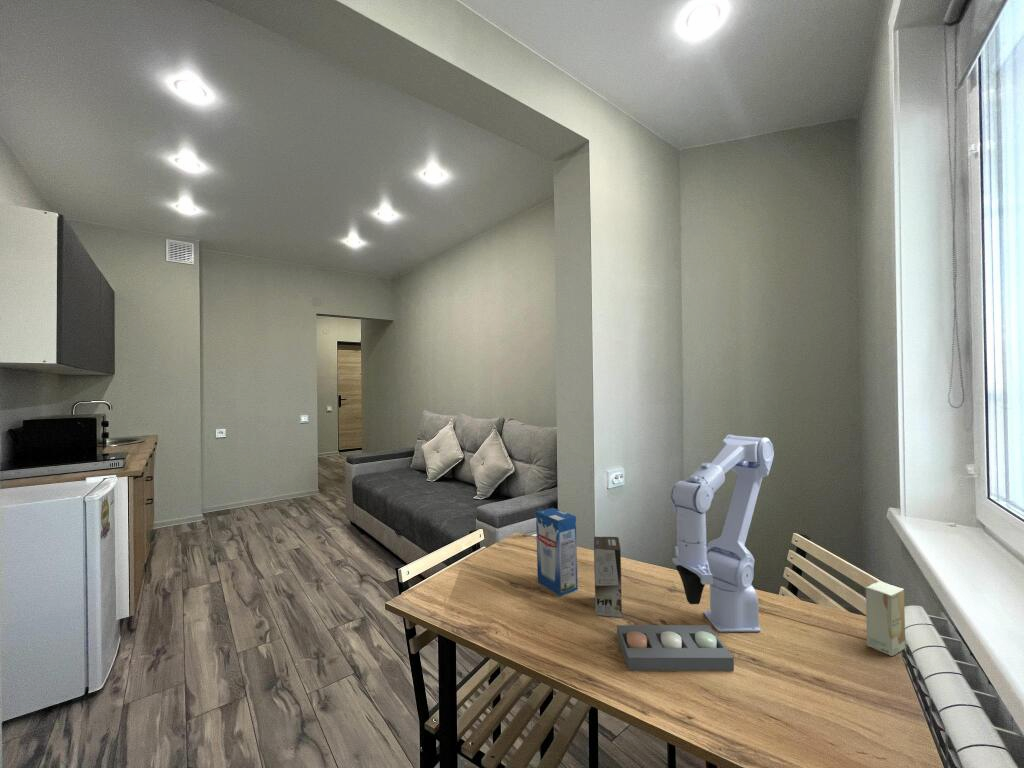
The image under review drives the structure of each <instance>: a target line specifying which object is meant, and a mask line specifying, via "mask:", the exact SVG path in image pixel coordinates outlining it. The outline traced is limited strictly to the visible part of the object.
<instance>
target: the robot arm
mask: <svg viewBox="0 0 1024 768" xmlns="http://www.w3.org/2000/svg"><path fill="white" fill-rule="evenodd" d="M774 455H775V452H774V445H773V443H772V441H771V439H770V438H768V437H756V436H755V437H754V436H742V435H734V434H728V435H726V436H725V437H724V438H723V439H722V441H721V450H720V451H719V453H718V454H717V455H716V456H715V457H714V458H713V460H712V461H711V462H702V463H701V464H700V466H699V467H698V468H696V470H695V471H694V472H693V473H692V474H690V476H689V477H688V478H686V480H679V481H678V482H676V483H674V484H673V485H672V487H671V491H670V494H669V499H670V500H669V501H670V502H671V504H672V507H673V513H674V515H675V516H676V534H677V535H676V537H677V538H676V539H677V542H676V543H677V546H674V550H675V551H674V555H675V556H676V557H672V559H671V561H672V563H673V564H675V565H676V566H675V569H676V570H677V572H678V574H679V576H680V579H681V582H682V585H683V590H684V593H685V599H686V601H687V602H688V604H689V605H700V603H701V599H702V596H703V595H702V594H703V591H704V588H705V585H709V610H703V615H705V617H706V618H707V620H708V621H709V622H710V623H711V625H712V626H713V627H714V628H715V630H716V631H718V632H719V633H721V632H723V633H724V632H725V633H726V632H730V633H731V632H733V633H735V632H745V633H746V632H747V633H749V632H759V633H760V632H761V629H762V628H760V622H759V621H760V619H759V599H758V594H757V592H756V589H755V588H754V586H753V585H752V582H753V580H754V574H755V573H754V567H755V558H754V556H753V554H752V553H751V551H750V550H748V549H747V547H746V546H745V545H746V542H747V537H748V533H749V530H750V527H751V523H752V518H753V516H754V511H755V507H756V503H757V499H758V495H759V492H760V489H761V485H762V481H763V478H765V477H768V476H769V474H770V471H771V467H772V464H773V460H774V458H775V456H774ZM730 470H731V471H732V472H734V473H735V474H736V475H737V480H736V483H735V486H734V490H733V494H732V497H731V500H730V504H729V508H728V511H727V514H726V518H725V521H724V524H723V529H722V532H721V534H720V537H718V538H715V539H712V540H710V541H708V543H707V523H706V522H707V521H706V520H707V519H706V518H707V517H706V512H707V511H708V510H709V509H710V507H711V504H712V500H713V499H714V494H715V493H716V491H718V490H719V489H720V487H721V486H723V484H724V483H725V481H726V476H725V474H727V473H728V472H729V471H730Z"/></svg>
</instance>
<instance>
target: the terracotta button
mask: <svg viewBox="0 0 1024 768" xmlns="http://www.w3.org/2000/svg"><path fill="white" fill-rule="evenodd" d="M627 648H647V637H646V635H644V634H643V633H641V632H637V631H632V632H629V633H628V634H627Z"/></svg>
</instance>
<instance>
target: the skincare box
mask: <svg viewBox="0 0 1024 768" xmlns="http://www.w3.org/2000/svg"><path fill="white" fill-rule="evenodd" d="M865 608H866V609H865V610H866V612H865V613H866V615H865V616H866V646H867V647H870V648H873V649H875V650H877V651H879V652H881V653H884V654H886V655H889V656H890V657H893V656H895V655H897V654H899V653H900V652H902V651H904V649H906V623H905V622H906V621H905V620H906V618H905V614H906V613H905V589H904V588H902V587H898V586H896V585H892V584H889V583H887V582H883V581H879V580H878V581H876V582H874V583H872V584H870V585H868V586H865ZM898 652H899V653H898Z"/></svg>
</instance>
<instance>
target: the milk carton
mask: <svg viewBox="0 0 1024 768" xmlns="http://www.w3.org/2000/svg"><path fill="white" fill-rule="evenodd" d="M535 519H536V520H535V523H536V528H535V529H536V531H535V532H536V563H537V569H536V570H537V571H536V572H537V584H539V583H540V585H541V586H543V587H544V588H546V589H547V590H549V591H551V592H552V593H554V594H555V595H557V596H558V597H562V596H563V597H564V596H566V595H567V594H571V593H573V592H575V590H576V591H578V555H577V554H578V553H577V552H578V551H577V550H578V549H577V548H578V547H577V546H578V545H577V516H576V515H574V514H571V513H568V512H566V511H563V510H560V509H558V508H554V507H551V508H547V509H543V510H538V511H535ZM570 592H571V593H570Z"/></svg>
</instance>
